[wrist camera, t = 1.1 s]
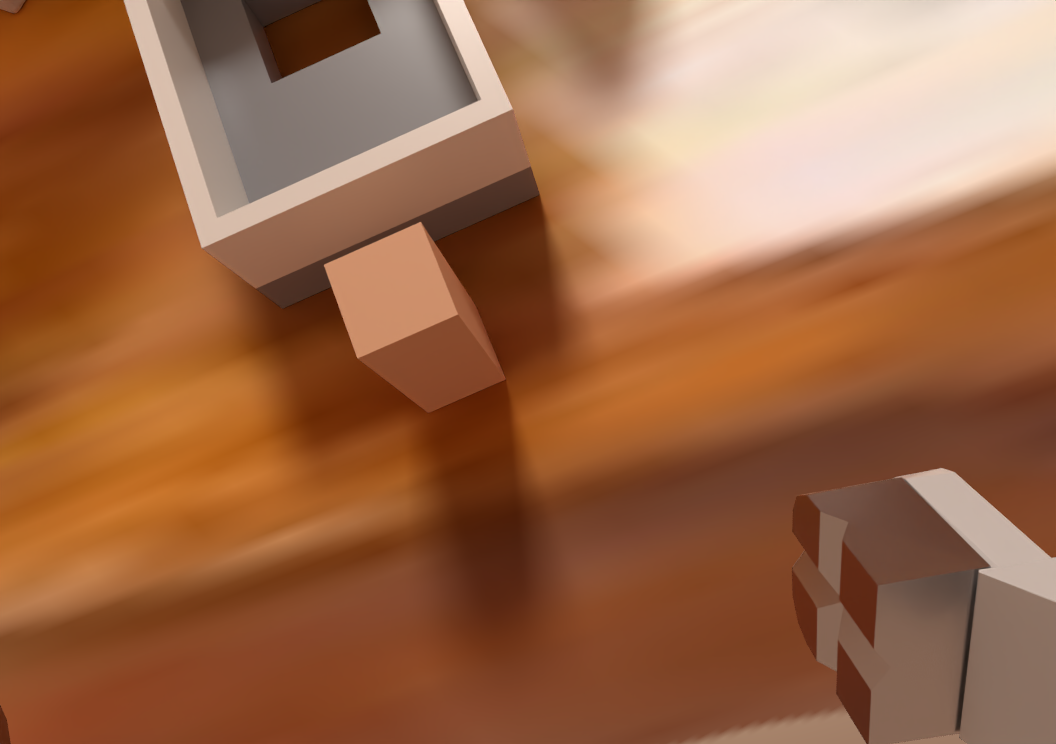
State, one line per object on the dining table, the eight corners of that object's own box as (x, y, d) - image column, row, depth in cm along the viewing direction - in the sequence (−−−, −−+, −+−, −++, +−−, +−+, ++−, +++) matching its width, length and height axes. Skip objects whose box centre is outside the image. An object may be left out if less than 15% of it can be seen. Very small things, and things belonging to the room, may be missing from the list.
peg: (475, 305, 43) (420, 221, 33) (505, 379, 42) (457, 314, 32) (400, 338, 43) (323, 264, 33) (428, 413, 42) (357, 358, 32)
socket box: (417, -77, 49) (370, -203, 41) (539, 194, 44) (512, 109, 36) (188, 28, 49) (99, -76, 42) (282, 308, 44) (201, 248, 37)
